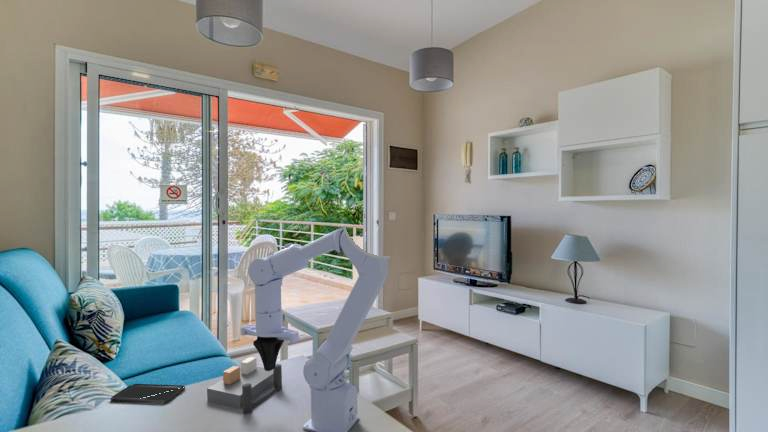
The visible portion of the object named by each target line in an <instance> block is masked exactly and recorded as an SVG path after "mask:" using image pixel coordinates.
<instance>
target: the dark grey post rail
mask: <svg viewBox="0 0 768 432" xmlns="http://www.w3.org/2000/svg"><path fill="white" fill-rule="evenodd" d="M282 374H283V372H282V364H279V363H276V365H275V368H274V369H273V377H274V385H273V388H272V389H270V390H269V391H267V392H266V393H264V394H263V395H262V396H260V397H258V399H256V400H255V401H253V400H252V385H251V384H250V383H247V384H244V385H242V399H243V407H242V414H244V415H248V414H251V413H253V408H255V407H257V406H258V405H260V404H261V403H262V402H263V401H265V400H267V398H269V397H271V395H273V394H274V393H276V392H279V391H282V390H283V379H282V378H283V375H282Z"/></svg>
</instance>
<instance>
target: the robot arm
mask: <svg viewBox="0 0 768 432" xmlns="http://www.w3.org/2000/svg"><path fill="white" fill-rule="evenodd" d="M283 246H284V248H282V249H281V250H278V251H270V252H268V256H266V257H256V258H255V259H254V260H252V261H251V262H250V263H249V266H248V277H249V279H250V280H251V281H252V283H253V284H254V314H255V319H254V320H255V324H245V325H243V326H240V335H241V336H253V337H256V339H255V340H253V346H254V347H255V349H256V350H257V352H258V354H259V356H260V358H261V362H262V366H263V368H264V369H265V371H271V370H272V369H274V368H275V365H276V364H277V359H278V356H279V353H280V350H281V348H282V345H283V343H284V342H285V341H287V342H288V341H289V343H291V344H292V343H293V344H294V343H296V342H298V341H299V338H300V337H299V334H300V333H299V330H294V329H290V328H288V327H285V326H284V324H283V317H282V316H283V313H282V311H283V310H282V286H283V279H284V278H285V277H286V276H289V275H291V274H294V273H296V272H299V271H301V270H303V269H305V268H306V267H307V266H308V264H309V260H311V259H315V258H317V257H319V256H322V255H324V254H328V253H330V252H332V251H336V253H342V252H343V253H344V255H345V256H346V257H347V259H348V260H349V261H350V263H351V264H352V265H353V267H354V268H355V270H356V271H357V273H358V277H357V278H356V281H355V283H354V285H353V287H352V289H351V291H350V293H349V295H348V297H347V299H346V301H345V303H344V305H343V307H342V309H341V311H340V313H339V314H338V316H337V319H336V320H335V322H334V324H333V326H332V328H331V330H330V331H329V334H328V335H327V338H326V340H324V342H322V344H321V345H320V347H319V348H318V349H317V350H316V351H315V353H314V355H313V357H311V358H310V359H308V360H306V362H305V363H304V365H303V370H302V371H303V378H304V380H305V382H306V383H307V384H308V385H309V388H310V419H308V420H307V421H306V422H305V423H304V424H303V426H302V429H304V430H308V431H312V432H349V431H350V429H351V428H353V426H354V425H355V423H356V422H357V421H358V420H359V418H360V415H358V389H357V386H355V385H354V384H351V383H349V382H348V381H346V380H345V378H346V377H345V375H346V371H345V370H346V369H347V368H348V367H349V365H350V363H351V361H350V360H351V357H350V356H351V354H352V353H351V352H352V350H353V349H354V348H353V345H352V344H353V342H354V341H355V338H356V337H357V335H358V333H359V330H360V329H361V328H362V325H363V323H364V321H365V320H366V318H367V316H368V314H369V312H370V310H371V308H372V306H373V304H374V303H375V300H376V299H377V297H378V295H379V293H380V291H381V290H382V288H383V285H384V284H385V282H386V281H387V278H388V274H389V272H388V271H389V269H388V268H389V267H388V264H389V261H388V260H389V257H376V256H373V255H369V254H367V253H365V252H363V251H362V250H360V249H359V248H358V247H357V246H355V245H354V243H353V242H352V241H351V240H350V238H349V237H348V235H347V233H346V231H345V227H342V228H339V229H336V230H333V231H331V232H329V233H327V234H325V235H323V236H321V237H318V238H317V239H315V240H313V241H311V242H309V243H307V244H305V245H301V244H300V243H299V244H298V243H293V242H289V243H287V244H284V245H283Z"/></svg>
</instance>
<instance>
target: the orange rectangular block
mask: <svg viewBox="0 0 768 432" xmlns="http://www.w3.org/2000/svg"><path fill="white" fill-rule="evenodd" d="M240 369H241V366H237V365H233V366H231V367H229V368H227V369H225V370H224V371H222V376H223V377H222V379H223V383H224V384H229V385H230V384H232V383H233V382H235V381H237V380H238V379H240Z"/></svg>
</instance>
